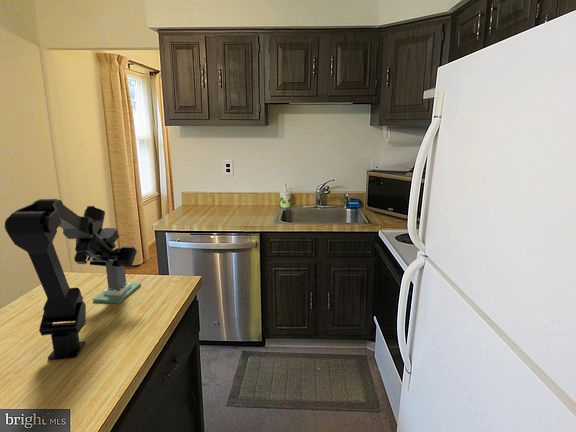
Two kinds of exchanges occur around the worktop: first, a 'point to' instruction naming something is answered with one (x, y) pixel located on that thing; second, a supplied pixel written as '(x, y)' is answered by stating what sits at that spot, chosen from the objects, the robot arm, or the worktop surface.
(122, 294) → the board
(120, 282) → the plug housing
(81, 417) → the worktop surface
